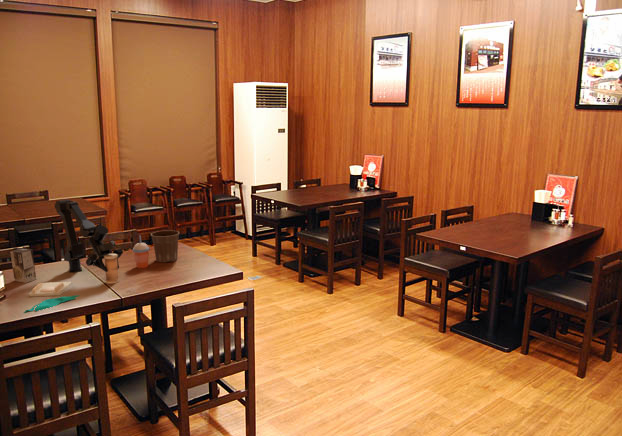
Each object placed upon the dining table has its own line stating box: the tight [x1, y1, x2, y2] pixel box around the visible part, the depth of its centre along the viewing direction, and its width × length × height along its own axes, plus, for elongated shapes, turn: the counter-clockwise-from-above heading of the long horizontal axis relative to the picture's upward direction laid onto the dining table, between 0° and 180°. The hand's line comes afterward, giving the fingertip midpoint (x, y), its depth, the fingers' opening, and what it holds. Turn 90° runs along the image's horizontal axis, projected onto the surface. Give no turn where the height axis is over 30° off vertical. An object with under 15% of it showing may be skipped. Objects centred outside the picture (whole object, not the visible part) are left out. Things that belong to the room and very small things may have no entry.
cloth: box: [23, 294, 81, 314], centre depth 232 cm, size 26×14×2 cm, turn 133°
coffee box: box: [9, 247, 37, 284], centre depth 263 cm, size 9×6×16 cm
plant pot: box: [150, 229, 180, 263], centre depth 297 cm, size 16×16×16 cm
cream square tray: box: [28, 281, 73, 297], centre depth 249 cm, size 16×14×3 cm
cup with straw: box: [132, 235, 150, 269], centre depth 284 cm, size 9×9×18 cm
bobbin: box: [104, 254, 120, 285], centre depth 259 cm, size 6×6×14 cm
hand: (112, 270), depth 259 cm, fingers closed on bobbin, 6 cm apart
